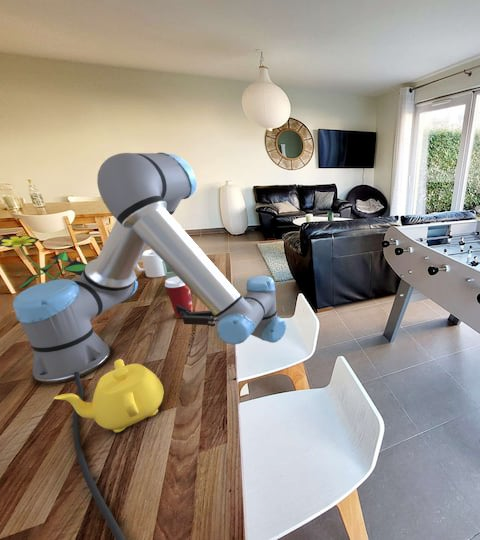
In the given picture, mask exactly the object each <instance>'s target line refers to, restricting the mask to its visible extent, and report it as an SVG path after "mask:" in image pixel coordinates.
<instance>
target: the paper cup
mask: <svg viewBox="0 0 480 540" xmlns="http://www.w3.org/2000/svg"><path fill="white" fill-rule="evenodd" d="M164 287H165V288H166V291H167V294H168V298H169V301H170V304H171V307H172V310H173V313H174V316H175V318H177V319H183V318H182V316H181V314H178V313H177V309H176V306H177V305H180V306H182V307H184V308H187V309H189V310H191V312H194V309H193V301H192V300H193V299H192V293H191V291H190V289H189V288H188V287H187V286H186V285H185V284H184V283H183V282H182V280H181V279H180V278H179V277H178V276H175V277H171V278H169V279H167V280H165V281H164Z"/></svg>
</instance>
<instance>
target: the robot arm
mask: <svg viewBox="0 0 480 540" xmlns="http://www.w3.org/2000/svg"><path fill="white" fill-rule="evenodd" d="M96 177H97V179H96V181H97V182H96V183H97V189H98V192H99V195H100V197H101V200H102V202H103V204H104V205H105V207H106V208H107V210H108V212H109V213H110V214H111V215H112V216H113V217H114V219H115V222H114V224H113V226H112V228H111V230H110V232H109V234H108V236H107V238H106V240H105V242H104V244H103V246H102V247H101V250H100V252H99V254H98V256H97V258H94V259H92V260H90V261H89V262H87V263H86V264H87V265H86V267H85V269H84V271H83V273H82V275H81V276H80V275H79V276H78V277H75V278H74V279H69V278H57V280H52V279H51V280H49V281H47V282H40V283H37V284H35V285H32V286H30V287H28V288H25V289H24V290H22V291H21V292H19V293H18V294H17V295H16V297H14V300H13V302H12V307H13V310H14V313H15V318H16V319H17V320H18V322H19V323H20V325H21V328H22V330H23V332H24V333H25V336H26V337H27V340H28V341H29V344H30V346H31V348H32V350H33V357H32V359H33V360H32V375H33V377H34V379H35V381H36V382H37V383H38V384H43V385H55V384H56V385H57V384H62V383H66V382H67V383H68V382H70V381H72V380H74V381H75V384H76V388H77V391H78V395H77V396H79V397H80V399H81V400H82V401H84V396H85V389H84V386H83V383H82V379H81V378H82V377H84V376H86V375H88V374H91V373H92V372H94V371H96V370H98V369H99V368H100V367H102V366H103V365H104V364H105V363H106V362H107V361H108V360H109V359H110V357H111V349H110V347H109V345H108V344H107V343H106V341H105V340H104V339H103V338H102V337H100V336H99V335H98V334H97V333H96V332H95V330H94V328H93V325H92V322H91V320H93V319H94V318H96V317H98V316H99V315H101V314H103V313H105V312H107V311H109V310H110V309H112V308H114V307H116V306H118V305H119V304H121V303H124V302H126V301H127V300H128V299H130V298H131V297H132V296H133V295H134V294H135V293H136V292H137V289H138V286H139V282H138V280H137V275H136V272H135V271H134V270H135V269H136V265H137V263H138V264H139V261H140V258H141V256H142V254H143V252H144V251H146V249H147V247H149V248H150V250H151V249H152V250H153V251H154V252H155V253H156V254H157V255H158V256H159V257H160V258H161V259H162V260H163V261H164V262H165V264H166V265H167V266H168V267H169V268H170V269H171V270H172V271H173V272H174V273H175V274H176V275H177V276H178V277H179V278H180V279H181V280H182V282H183V283H184V284H185V285H186V286H187V287H188V288H189V289H190V290H191V291H190V292H192V294H193V295H194V296H195V297H196V298H197V299H199V301H200V302H201V303H202V304H203V305H204V306H205V307H206V308H207V310H200V311H193V312H191V310H189V309H187V308H184V307H182V306H180V305H177V306H176V309H177V313H178V314H181V316H182V318H181V319H182V322H183V325H193V326H194V325H195V326H196V325H197V326H199V325H200V326H210V327H215V326H216V332H217V336H218V337H219V338H220V339H221V340H222V341H223V342H225V343H226V344H230V345H240V344H243V343H245V341H246V340H247V339H249V337H250V336H253V337H255V338H257V339H260V341H264V342H267V343H272V344H274V343H277V342H279V341H280V340H281V339H282V338H283V337H284V335H285V333H286V330H287V323H286V321H285V320H284V319H283V318H282V317H280V316H278V310H277V297H276V290H277V289H276V285H275V280H274V278H272V277H271V276H267V275H256V276H253V277H252V276H251V278H249V279H248V280H247V281H246V293H245V294H244V296H242V295H241V293H240V292H239V291H238V290H237V289H236V288H235V287H234V285H232V284H233V283H231V282H230V281H229V280H228V278H227V277H226V276H225V275H224V274H223V273H222V272H221V271H220V270H219V268H218V267H217V266H216V265H215V264H214V262H212V260H211V259H210V258H209V257H208V256H207V254H206V253H205V252H204V251H203V249H202V248H200V247H199V245H198V244H197V243H196V242H195V241H194V240H193V239H192V238H191V236H190V235H189V234H188V233H187V232H186V231H185V229H184V228H183V227H182V226H181V225H180V224H179V223H178V222H177V220H176V219H175V217H173V216H172V215H173V214H174V213H175V211H176V210H177V208H178V206H179V204H180V203H181V201H182V200H186V199H189V198H190V197H192V196H193V195H194V193H195V192H196V189H197V177H196V176H195V172H194V170H193V168H192V167H191V165H190V164H189V163H188V162H187V161H186V160H185V159H183V158H182V157H180V156H178V155H176V154H173V153H166V152H163V151H162V152H156V153H154V152H151V153H150V152H149V153H147V152H145V153H144V152H140V153H139V152H121V153H116V154H114V155H112V156H110V157H108V158H107V159H105V160H104V161H103V162H102V163H101V165H100V167H99V169H98V172H97V176H96ZM141 259H142V258H141ZM217 322H218V323H217ZM216 323H217V325H216ZM72 434H73V443H74V449H75V455H76V458H77V462H78V465H79V468H80V471H81V474H82V477H83V479H84V481H85V483H86V486H87V488H88V490H89V492H90V494H91V496H92V498H93V500H94V502H95V503H96V507H98V509H99V512H100V513H101V516H102V517H103V518H104V520H105V523H106V524H107V526H108V528H109V529H110V531H111V533H112V535H113V537H114V539H115V540H127V539H126V536H125V535H124V533H123V532H122V530H121V528H120V525H119V524H118V522H117V520H116V519H115V517H114V515H113V513H112V511H111V510H110V508H109V507H108V505H107V504H106V501H105V499H104V497H103V496H102V494H101V492H100V491H99V488H98V486H97V484H96V482H95V480H94V478H93V476H92V473H91V471H90V469H89V466H88V463H87V460H86V458H85V457H86V456H85V453H84V450H83V446H82V441H81V440H82V439H81V432H80V415H79V414H78V413H77V412H76V411H75V409H74V411H73V415H72Z"/></svg>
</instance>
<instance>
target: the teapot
mask: <svg viewBox="0 0 480 540" xmlns="http://www.w3.org/2000/svg"><path fill="white" fill-rule="evenodd" d="M113 364H114V366H113V367H114V369H112V370H111V371H109V372H107V373H105V374H103V375H102V376H101V377H100V378H99V380H98V381H97V384H96V387H95V390H94V394H93V397H92V401H90V402H89V401H84V400H83V401H82V400H81V399H80V397H79V396H78V395H77V394H75V393H63V394H58V395H56V396H54V397H53V399H54V400H61V401H65V402H68V403H69V404H71V406H72V407H73V409H74V410H75V411H76V412H77V413H78V414H79V417H82V418H85V419H94V421H95V422H96V424H97V425H98V426H100V427H101V428H102V429H103V428H104V429H107V430H111V431H113V432H114V433H120V432H122V431H124V430H125V429H126V428H127V427H130V426H132V425H135V424H137V423H139V422H141V421H143V420H145V419H146V418H150V417H154V416H155V415H157V413H158V412H159V407H160V406H161V404H162V402H163V399H164V394H165V391H164V387H163V383H162V382H161V380H160V378H159V377H158V376H157V375H156V374H155V373H154V372H153V371H152V370H150V369H149V368H147V367H146V366H144V365H142V364H140V363H130V364H127V365H125V361H124V360H123V359H121V358H118V359H116V360H115V361H114V362H113Z"/></svg>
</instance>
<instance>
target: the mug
mask: <svg viewBox="0 0 480 540" xmlns="http://www.w3.org/2000/svg"><path fill="white" fill-rule="evenodd" d="M140 259H141V262H142V266H143V267H142V268H141V267H140V265H139V262H138V263H137V265H136V267H135V269H136V270H137V272H144V273H145V276H146V277H148V278H160V277H165V272H164V268H163V264H162V261H163V260H162V259H161V258H160V257H159V256H158V255H157V254H156V253H155V252H154V251H153V250H152V249H151V248H150V249H147V250H146V249H145V251H144V252H143V254H142V256H141V258H140ZM140 259H139V260H140Z"/></svg>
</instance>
